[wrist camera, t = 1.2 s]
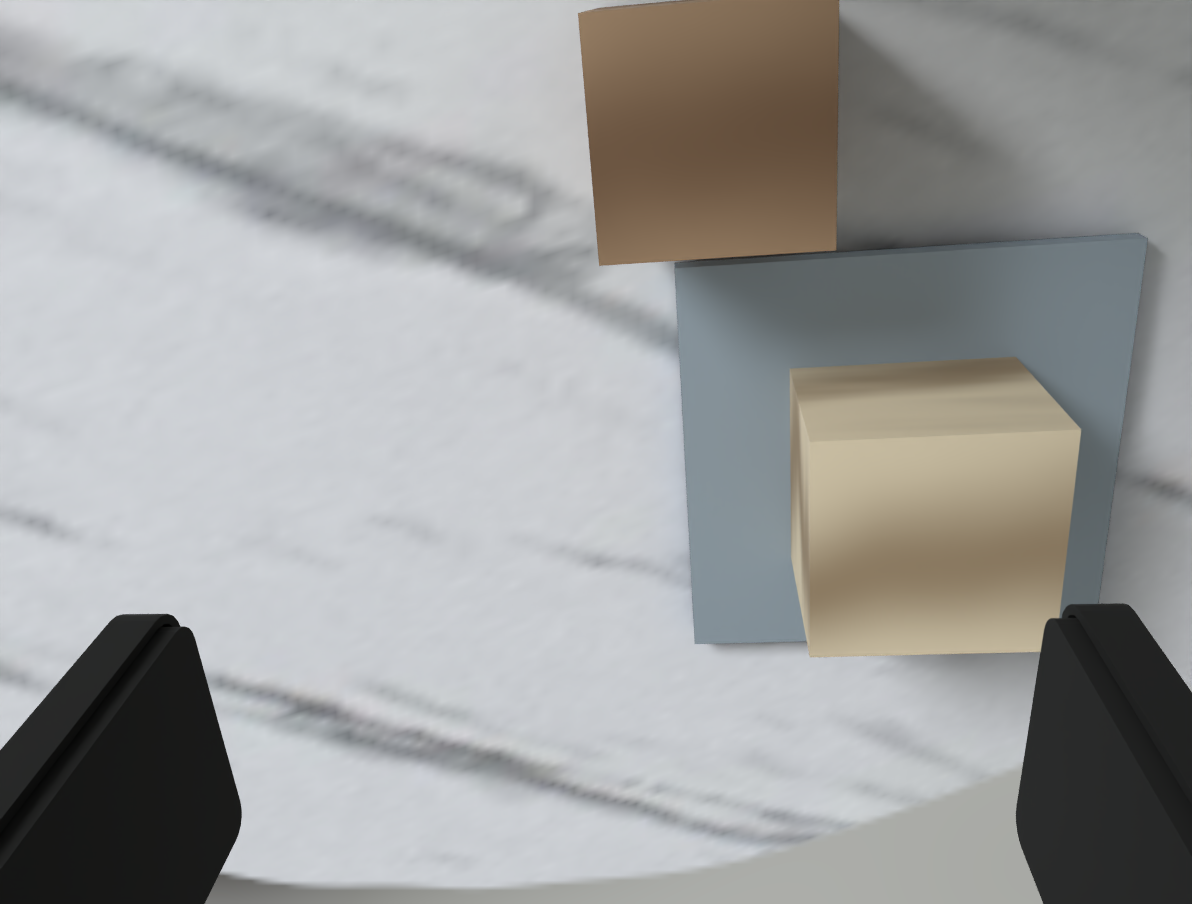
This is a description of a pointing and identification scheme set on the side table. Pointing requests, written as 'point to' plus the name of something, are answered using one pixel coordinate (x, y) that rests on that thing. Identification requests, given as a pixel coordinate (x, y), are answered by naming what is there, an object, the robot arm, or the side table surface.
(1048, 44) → the side table surface
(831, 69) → the walnut block
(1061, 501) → the beech block
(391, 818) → the side table surface
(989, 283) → the build plate
